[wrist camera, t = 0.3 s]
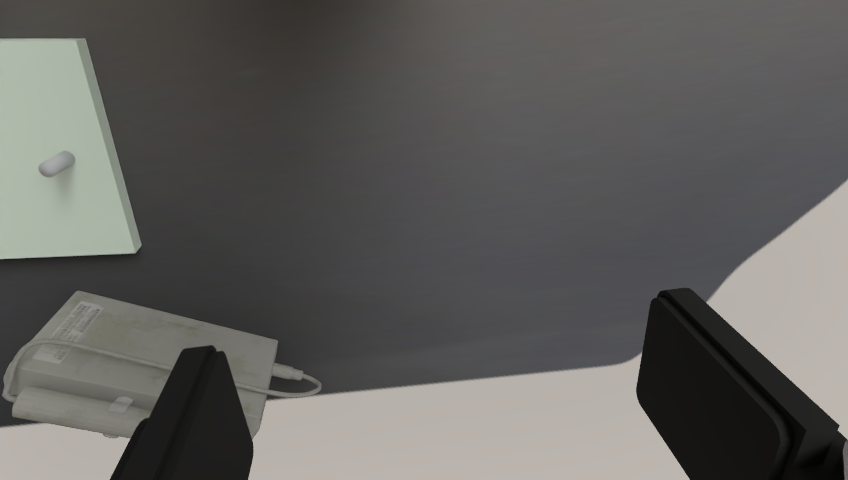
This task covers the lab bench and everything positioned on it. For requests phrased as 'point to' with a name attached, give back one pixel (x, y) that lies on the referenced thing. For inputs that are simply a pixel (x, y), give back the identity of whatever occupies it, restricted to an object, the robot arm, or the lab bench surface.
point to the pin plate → (58, 156)
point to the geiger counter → (128, 365)
